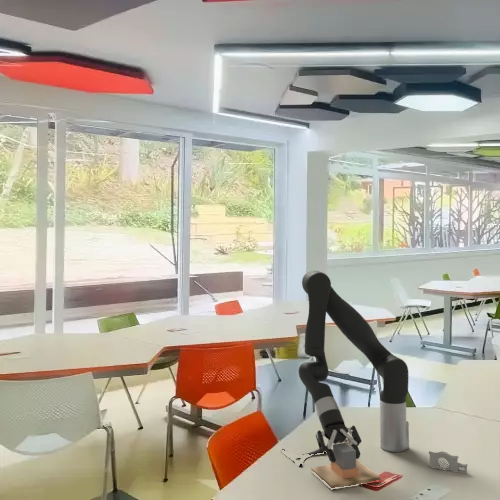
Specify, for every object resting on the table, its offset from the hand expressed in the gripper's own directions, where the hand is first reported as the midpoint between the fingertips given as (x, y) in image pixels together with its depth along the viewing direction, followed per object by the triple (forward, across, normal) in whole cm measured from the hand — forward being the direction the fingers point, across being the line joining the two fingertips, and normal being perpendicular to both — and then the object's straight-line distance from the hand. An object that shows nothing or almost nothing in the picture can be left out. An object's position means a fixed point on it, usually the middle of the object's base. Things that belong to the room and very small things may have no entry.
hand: (346, 460), depth 176 cm
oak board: (+4, 0, +5) cm, 6 cm away
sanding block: (+2, 0, +4) cm, 4 cm away
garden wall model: (+9, +34, 0) cm, 35 cm away
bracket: (-10, -4, +19) cm, 22 cm away
